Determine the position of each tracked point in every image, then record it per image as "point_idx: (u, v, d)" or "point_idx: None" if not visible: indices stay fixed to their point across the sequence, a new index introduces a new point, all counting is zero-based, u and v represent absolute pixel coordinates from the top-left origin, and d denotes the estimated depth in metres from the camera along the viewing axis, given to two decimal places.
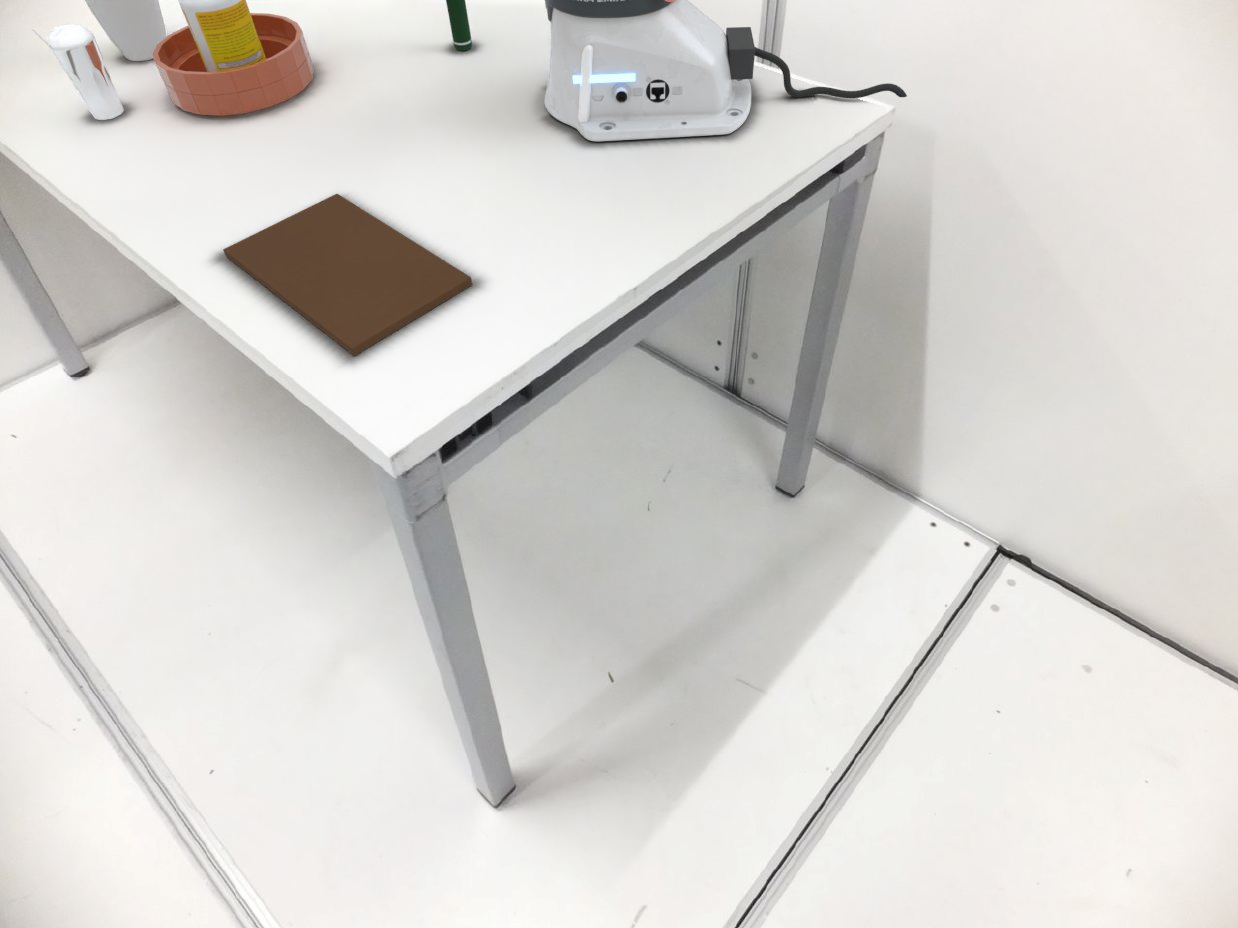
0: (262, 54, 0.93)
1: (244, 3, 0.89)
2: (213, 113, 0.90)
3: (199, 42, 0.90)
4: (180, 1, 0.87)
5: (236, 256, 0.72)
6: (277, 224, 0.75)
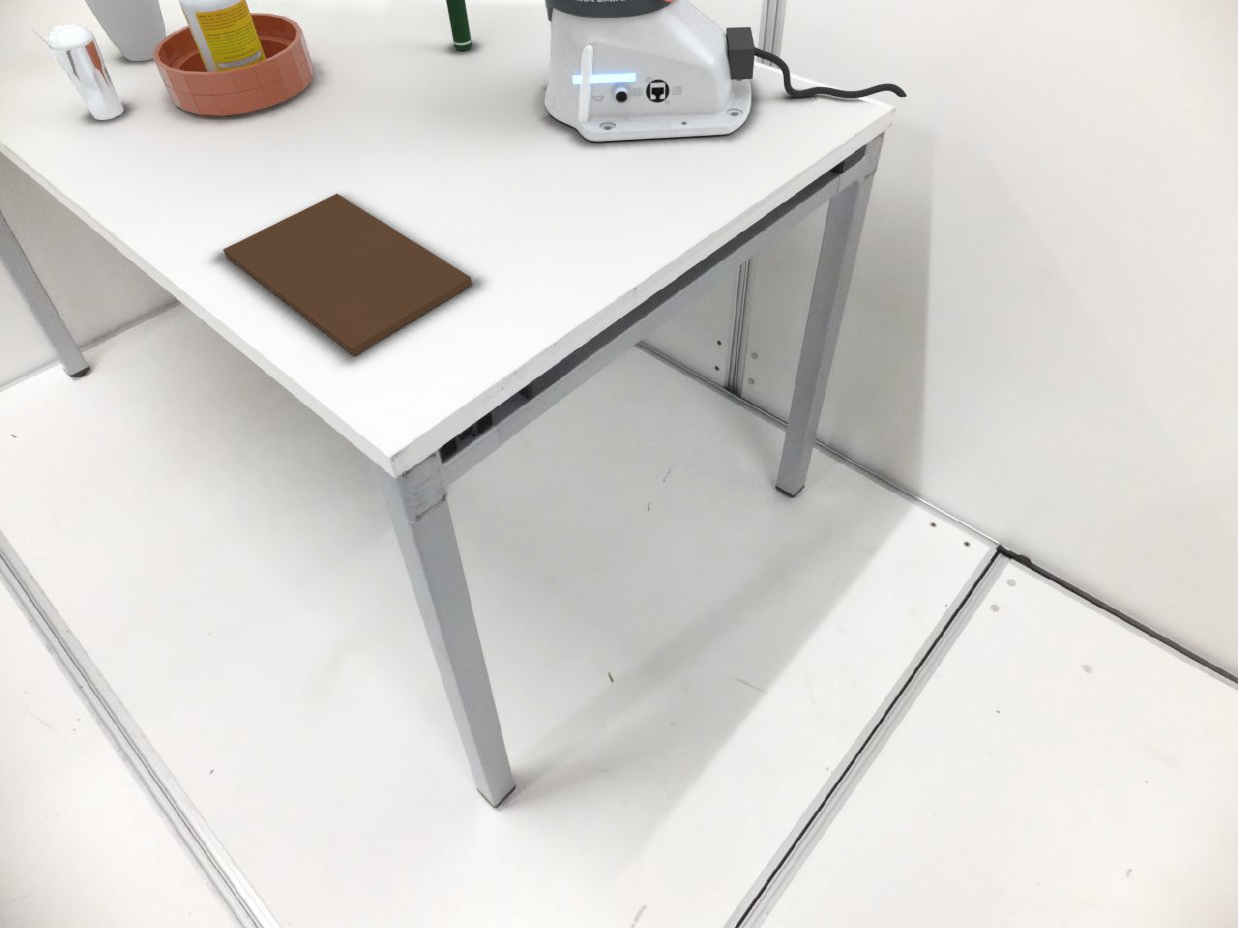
0: (262, 54, 0.93)
1: (244, 3, 0.89)
2: (213, 113, 0.90)
3: (199, 42, 0.90)
4: (180, 1, 0.87)
5: (236, 256, 0.72)
6: (277, 224, 0.75)
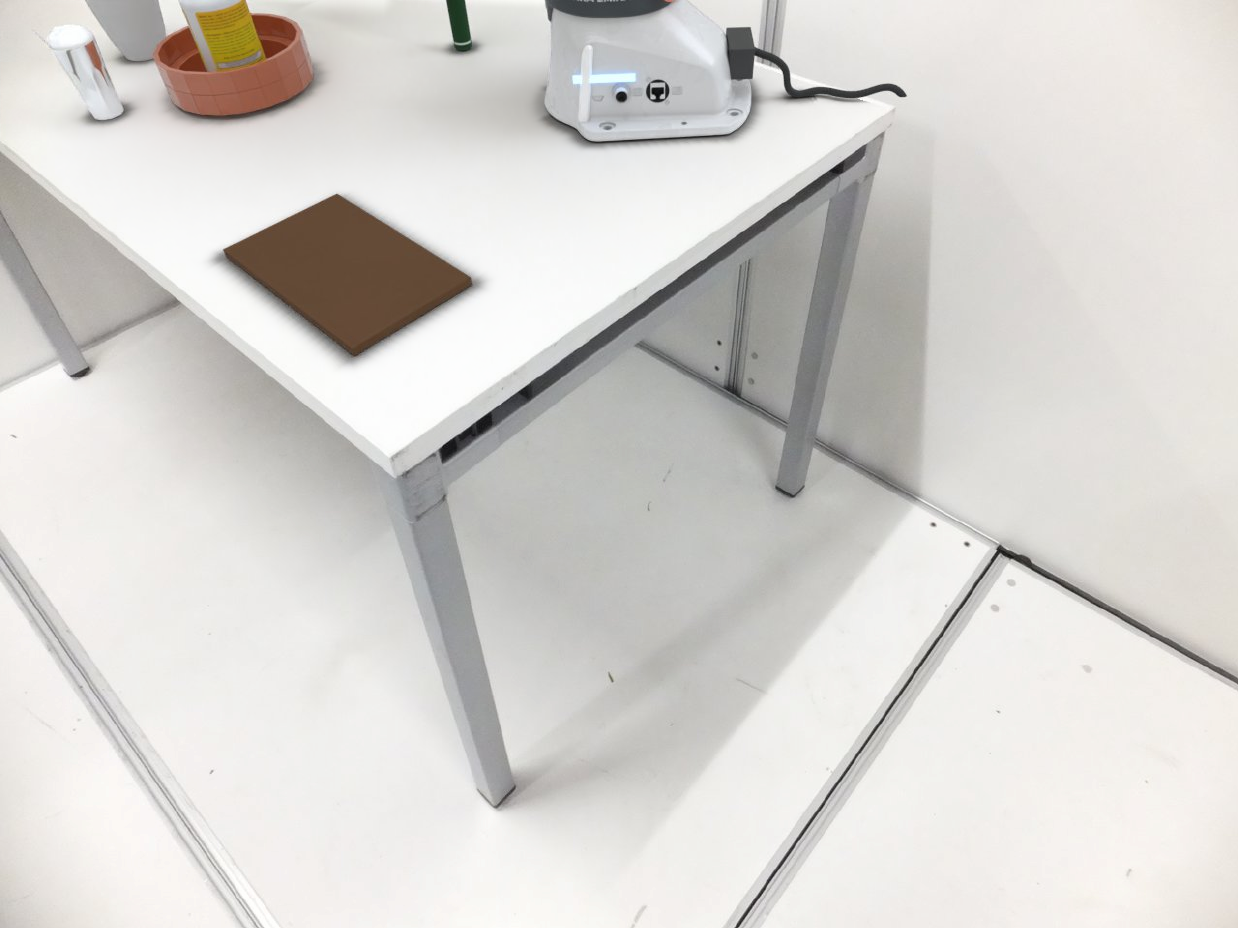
0: (262, 54, 0.93)
1: (244, 3, 0.89)
2: (213, 113, 0.90)
3: (199, 42, 0.90)
4: (180, 1, 0.87)
5: (236, 256, 0.72)
6: (277, 224, 0.75)
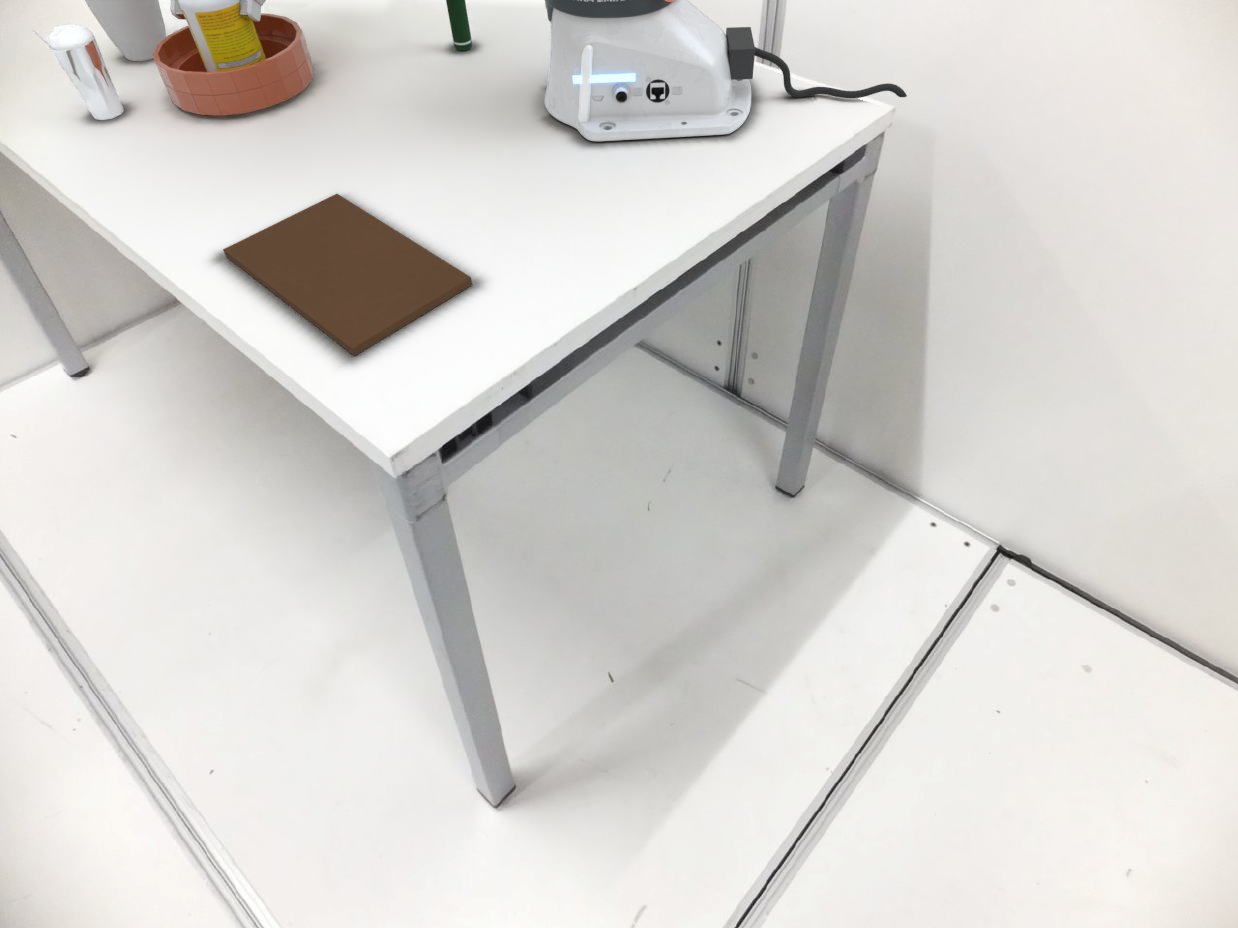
0: (262, 54, 0.93)
1: None
2: (213, 113, 0.90)
3: (199, 42, 0.90)
4: (180, 1, 0.87)
5: (236, 256, 0.72)
6: (277, 224, 0.75)
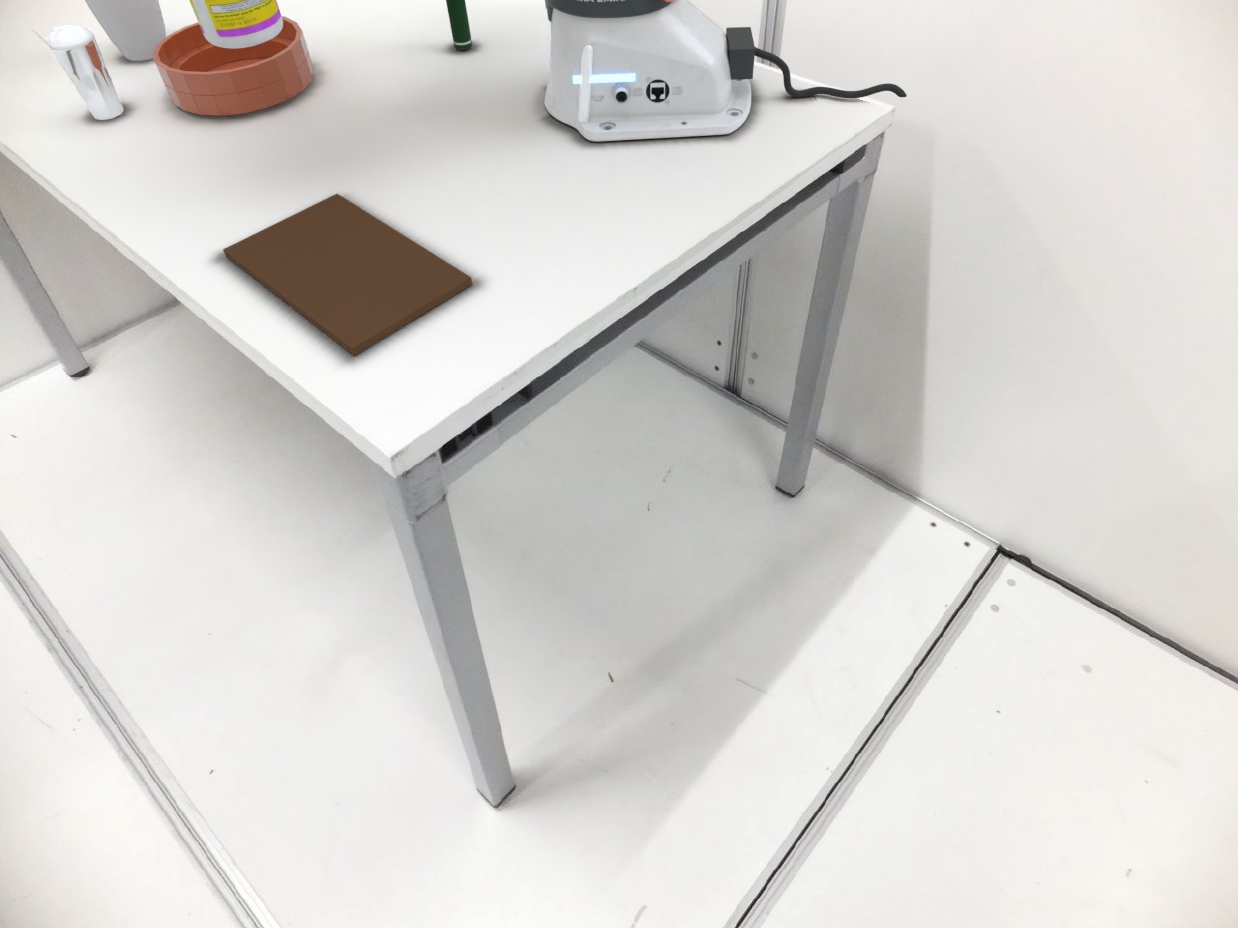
0: None
1: None
2: (213, 113, 0.90)
3: None
4: None
5: (236, 256, 0.72)
6: (277, 224, 0.75)
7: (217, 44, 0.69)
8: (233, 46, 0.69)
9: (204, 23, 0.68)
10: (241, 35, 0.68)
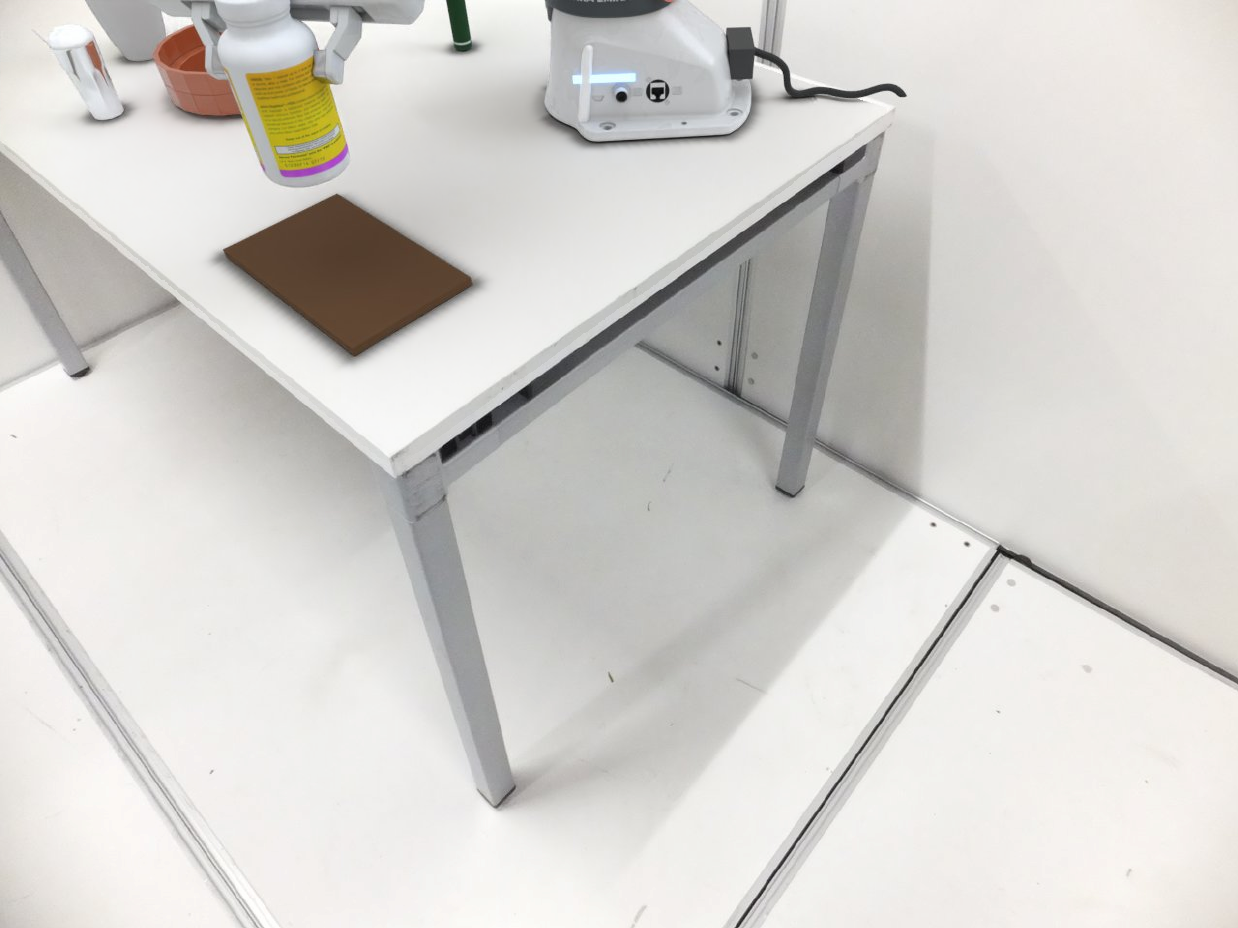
0: (340, 130, 0.62)
1: None
2: (213, 113, 0.90)
3: (249, 115, 0.58)
4: (222, 55, 0.56)
5: (236, 256, 0.72)
6: (277, 224, 0.75)
7: (279, 183, 0.62)
8: (297, 186, 0.62)
9: (266, 162, 0.61)
10: (307, 175, 0.61)
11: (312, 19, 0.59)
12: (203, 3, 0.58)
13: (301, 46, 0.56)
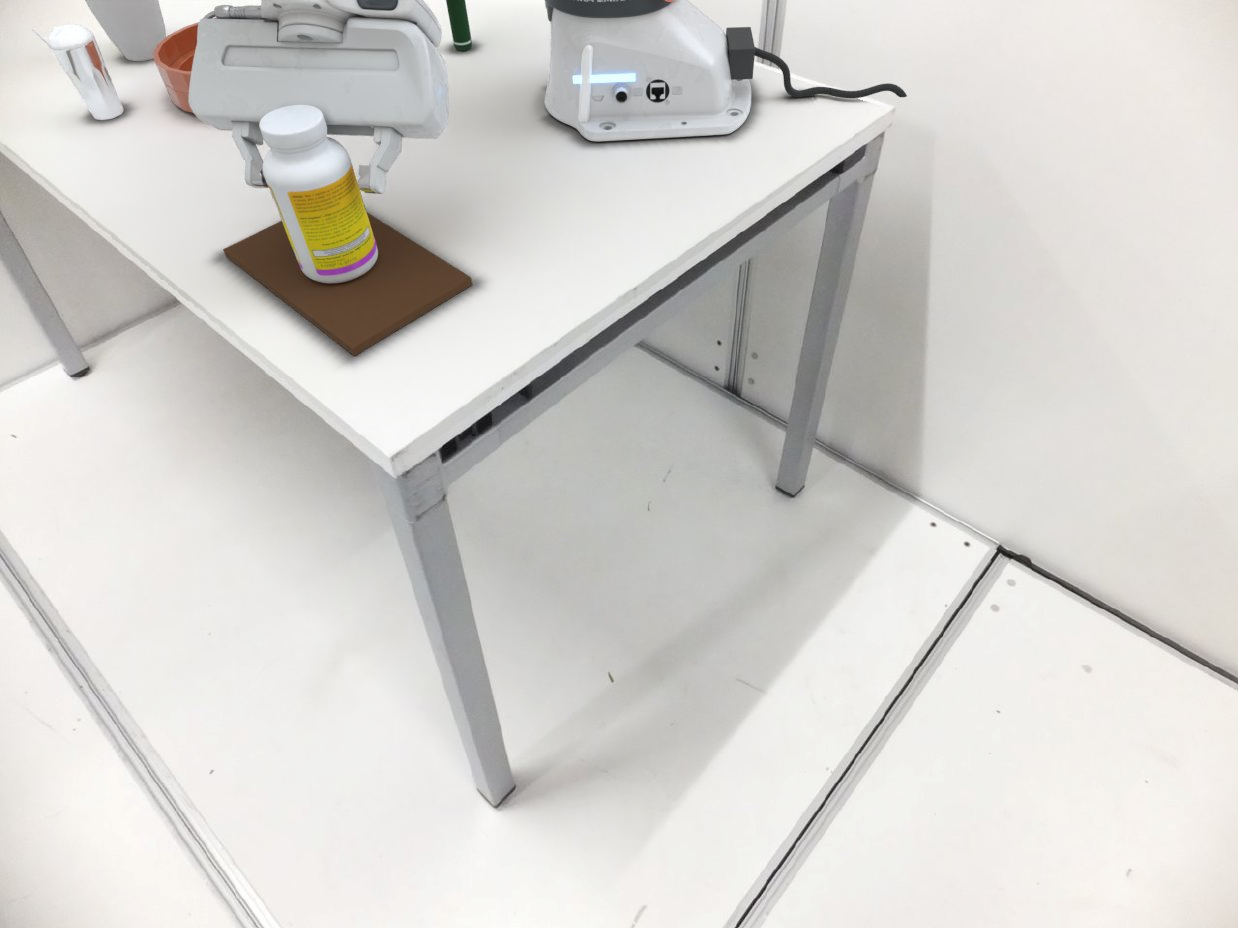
0: (370, 231, 0.69)
1: (352, 172, 0.65)
2: None
3: (290, 224, 0.65)
4: (266, 175, 0.63)
5: (236, 256, 0.72)
6: (277, 224, 0.75)
7: (315, 280, 0.69)
8: (331, 282, 0.69)
9: (303, 262, 0.68)
10: (340, 273, 0.68)
11: (347, 134, 0.66)
12: (243, 123, 0.64)
13: (337, 166, 0.63)
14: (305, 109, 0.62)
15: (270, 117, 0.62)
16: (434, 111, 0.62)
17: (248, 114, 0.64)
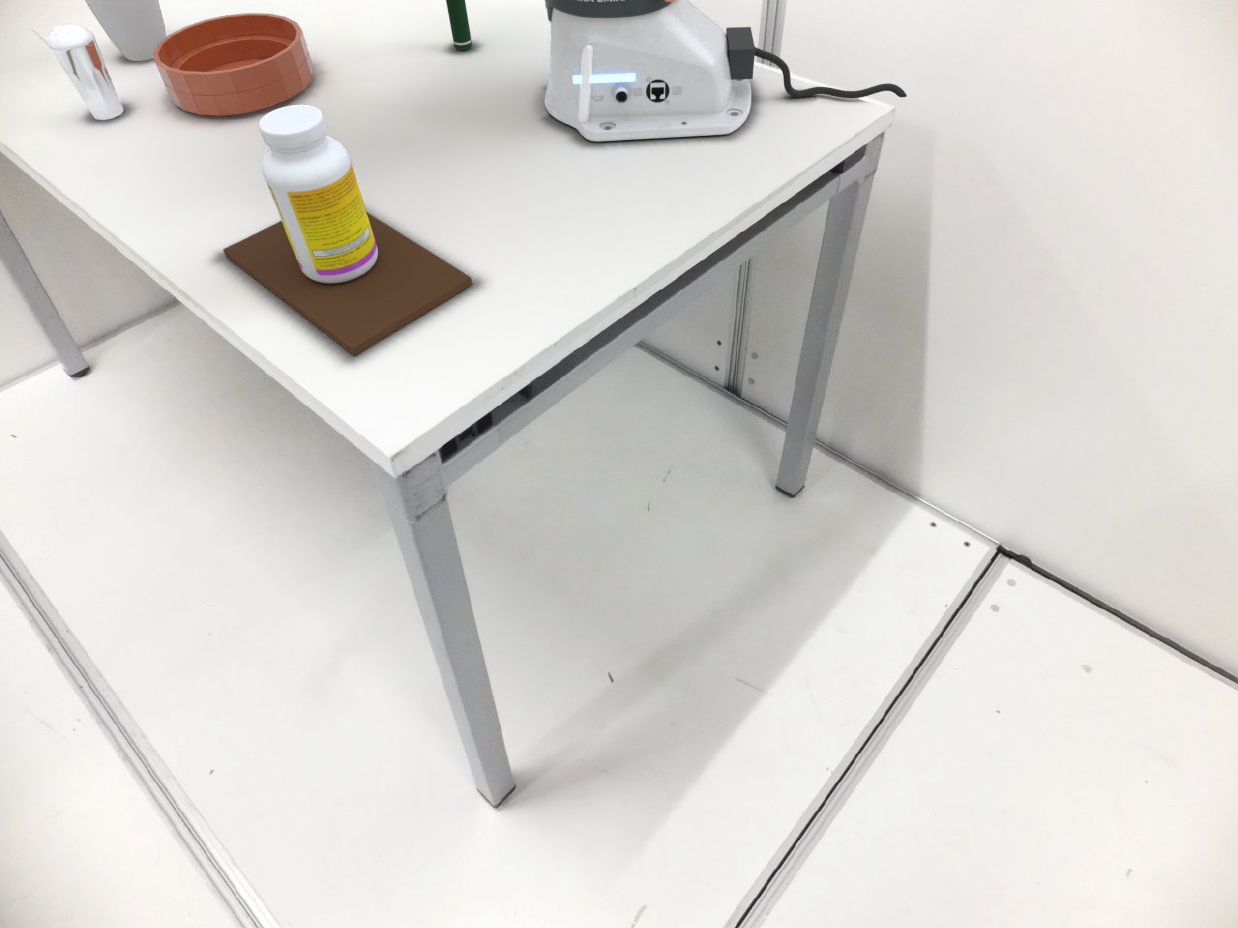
0: (370, 231, 0.69)
1: (351, 172, 0.65)
2: (213, 113, 0.90)
3: (290, 224, 0.65)
4: (266, 175, 0.63)
5: (236, 256, 0.72)
6: (277, 224, 0.75)
7: (315, 280, 0.69)
8: (331, 282, 0.69)
9: (303, 262, 0.68)
10: (340, 273, 0.68)
11: None
12: None
13: (336, 166, 0.63)
14: (304, 109, 0.62)
15: (270, 117, 0.62)
16: None
17: None
